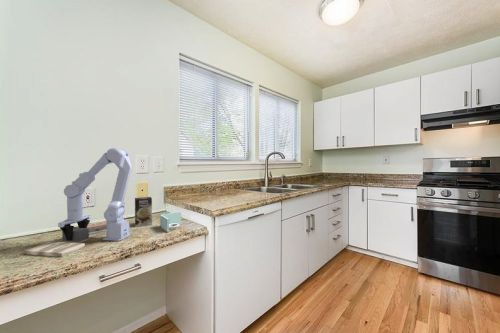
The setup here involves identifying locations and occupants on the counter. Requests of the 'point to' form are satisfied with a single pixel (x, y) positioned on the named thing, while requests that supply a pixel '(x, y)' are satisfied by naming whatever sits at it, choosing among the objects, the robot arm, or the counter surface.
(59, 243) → the pine board
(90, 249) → the counter surface
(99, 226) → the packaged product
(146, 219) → the coffee box
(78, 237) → the block
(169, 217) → the pale turquoise carton
